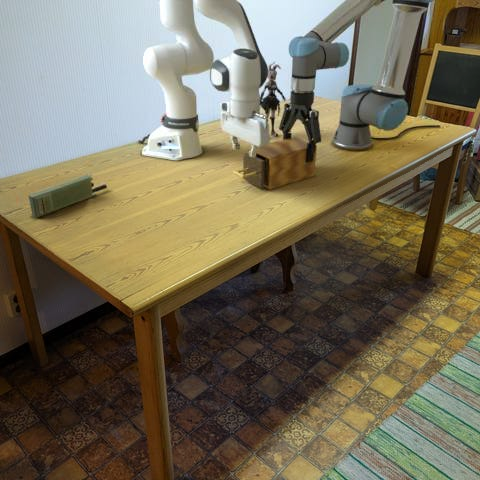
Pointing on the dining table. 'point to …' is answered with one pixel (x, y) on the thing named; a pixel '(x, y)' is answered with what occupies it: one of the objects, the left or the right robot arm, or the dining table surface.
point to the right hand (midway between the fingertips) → (297, 156)
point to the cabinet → (287, 161)
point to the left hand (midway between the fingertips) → (244, 152)
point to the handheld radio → (62, 195)
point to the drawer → (254, 170)
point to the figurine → (271, 97)
